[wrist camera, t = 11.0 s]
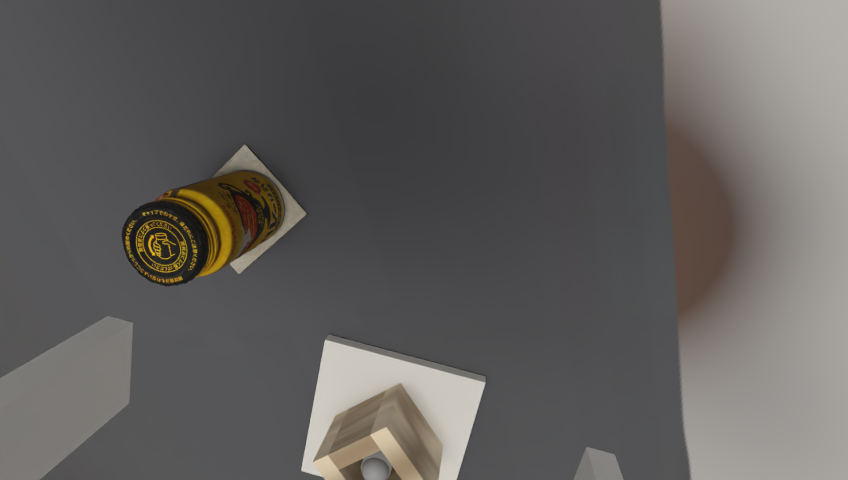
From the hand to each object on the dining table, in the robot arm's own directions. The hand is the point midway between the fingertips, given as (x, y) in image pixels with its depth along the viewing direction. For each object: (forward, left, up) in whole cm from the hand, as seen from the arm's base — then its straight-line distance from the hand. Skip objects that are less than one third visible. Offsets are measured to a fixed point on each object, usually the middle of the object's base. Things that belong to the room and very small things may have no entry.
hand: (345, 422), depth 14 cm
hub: (+20, 0, -26) cm, 33 cm away
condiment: (+4, -16, -27) cm, 31 cm away
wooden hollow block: (+20, 0, -25) cm, 32 cm away
